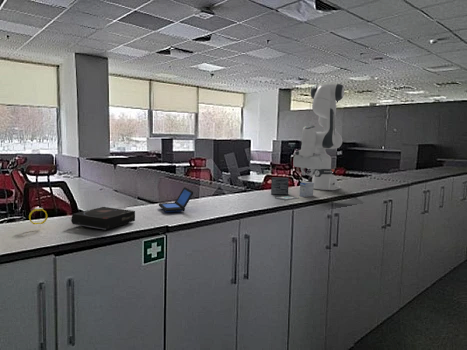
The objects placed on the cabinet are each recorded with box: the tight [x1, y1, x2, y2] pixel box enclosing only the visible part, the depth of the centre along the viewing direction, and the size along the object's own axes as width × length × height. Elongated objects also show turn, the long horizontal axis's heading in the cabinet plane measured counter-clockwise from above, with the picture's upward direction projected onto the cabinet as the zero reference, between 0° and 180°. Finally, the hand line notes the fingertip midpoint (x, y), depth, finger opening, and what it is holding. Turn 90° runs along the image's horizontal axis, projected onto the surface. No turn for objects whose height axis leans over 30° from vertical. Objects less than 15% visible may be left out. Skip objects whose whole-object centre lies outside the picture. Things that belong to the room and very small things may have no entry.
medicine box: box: [299, 181, 314, 198], centre depth 218 cm, size 8×4×9 cm, turn 130°
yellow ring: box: [28, 207, 48, 225], centre depth 134 cm, size 6×3×6 cm, turn 127°
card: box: [274, 195, 299, 201], centre depth 209 cm, size 12×8×1 cm, turn 129°
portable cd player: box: [70, 206, 136, 231], centre depth 141 cm, size 16×17×4 cm
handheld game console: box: [158, 186, 194, 213], centre depth 171 cm, size 16×13×9 cm
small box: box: [270, 176, 290, 196], centre depth 223 cm, size 11×6×10 cm, turn 84°
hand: (307, 175), depth 218 cm, fingers open, 4 cm apart
